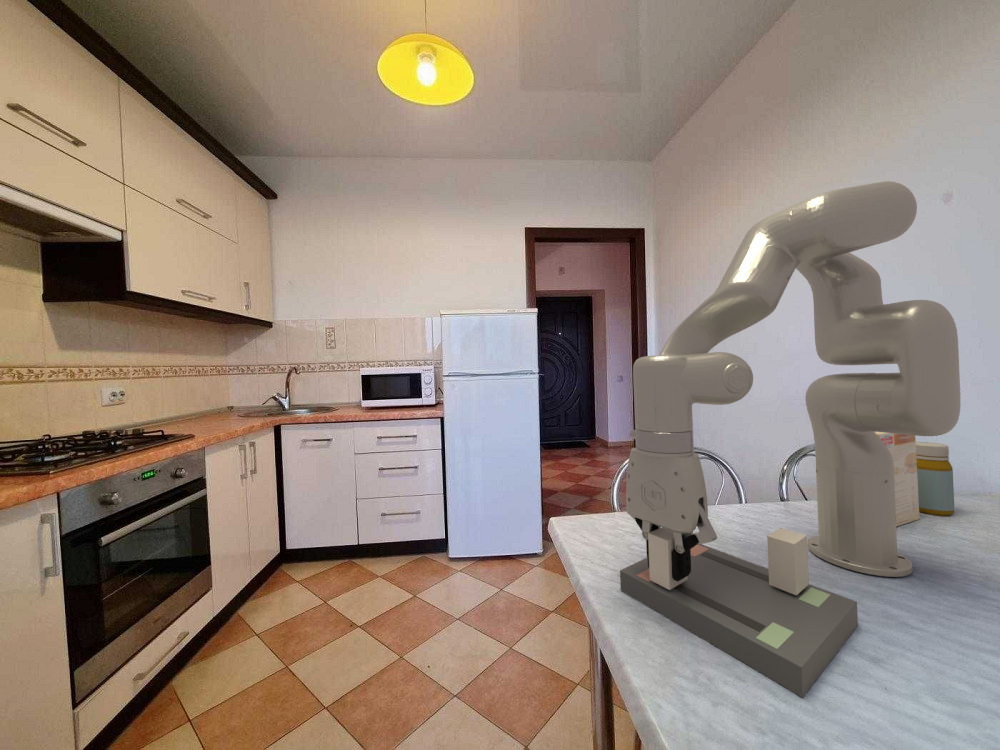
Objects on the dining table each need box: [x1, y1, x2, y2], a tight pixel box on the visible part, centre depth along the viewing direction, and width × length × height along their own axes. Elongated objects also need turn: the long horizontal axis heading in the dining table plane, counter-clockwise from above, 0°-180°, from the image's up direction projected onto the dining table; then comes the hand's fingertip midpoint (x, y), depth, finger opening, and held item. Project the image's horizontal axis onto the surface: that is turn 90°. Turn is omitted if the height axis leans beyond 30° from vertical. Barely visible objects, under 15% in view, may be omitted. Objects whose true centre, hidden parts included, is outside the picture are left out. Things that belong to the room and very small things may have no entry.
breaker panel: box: [619, 544, 859, 698], centre depth 49 cm, size 18×22×3 cm
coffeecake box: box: [875, 432, 921, 527], centre depth 76 cm, size 15×7×20 cm, turn 110°
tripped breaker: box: [648, 527, 688, 590], centre depth 50 cm, size 4×3×7 cm
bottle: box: [916, 441, 956, 517], centre depth 80 cm, size 7×7×15 cm
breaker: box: [766, 527, 810, 595], centre depth 48 cm, size 4×3×7 cm
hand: (668, 570), depth 50 cm, fingers closed on tripped breaker, 3 cm apart
